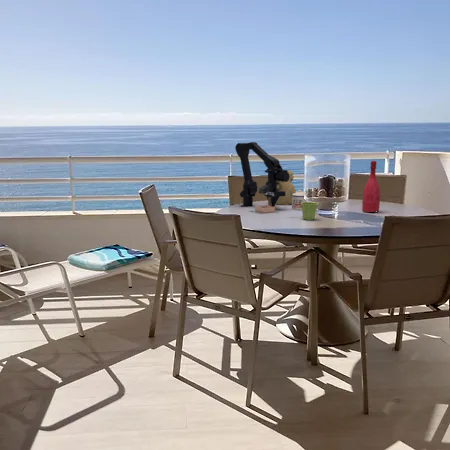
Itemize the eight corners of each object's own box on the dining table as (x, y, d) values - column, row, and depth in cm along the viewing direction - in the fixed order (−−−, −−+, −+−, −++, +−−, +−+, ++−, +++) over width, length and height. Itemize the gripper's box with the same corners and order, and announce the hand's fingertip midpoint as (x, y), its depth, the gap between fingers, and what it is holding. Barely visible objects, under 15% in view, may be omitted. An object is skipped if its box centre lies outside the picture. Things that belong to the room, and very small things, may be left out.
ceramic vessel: (300, 202, 331) (302, 164, 326) (288, 206, 314) (289, 166, 309) (277, 200, 339) (278, 163, 334) (264, 204, 323) (264, 165, 318)
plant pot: (299, 217, 277) (299, 201, 275) (316, 217, 277) (317, 202, 275) (300, 220, 268) (301, 204, 266) (318, 220, 268) (319, 204, 266)
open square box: (255, 211, 290) (255, 206, 289) (266, 210, 294) (266, 205, 293) (263, 213, 283) (263, 208, 282) (274, 212, 287) (275, 207, 287)
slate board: (247, 212, 291) (247, 211, 291) (267, 210, 298) (267, 209, 298) (260, 215, 281) (260, 214, 281) (280, 213, 288) (280, 212, 288)
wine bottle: (360, 212, 295) (363, 161, 289) (362, 210, 304) (366, 160, 298) (378, 213, 291) (381, 161, 286) (379, 211, 300) (383, 160, 295)
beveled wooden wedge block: (267, 210, 301) (268, 196, 299) (273, 209, 303) (273, 196, 301) (270, 210, 299) (270, 197, 298) (275, 210, 301) (275, 196, 300)
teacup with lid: (289, 210, 302) (290, 190, 300) (292, 207, 310) (293, 188, 308) (309, 211, 298) (310, 191, 296) (312, 209, 306) (313, 189, 304)
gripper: (252, 179, 301) (251, 205, 304) (271, 182, 286) (270, 210, 289) (267, 178, 307) (266, 204, 310) (286, 181, 292) (285, 208, 295)
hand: (271, 206), depth 301 cm, fingers closed on beveled wooden wedge block, 2 cm apart
